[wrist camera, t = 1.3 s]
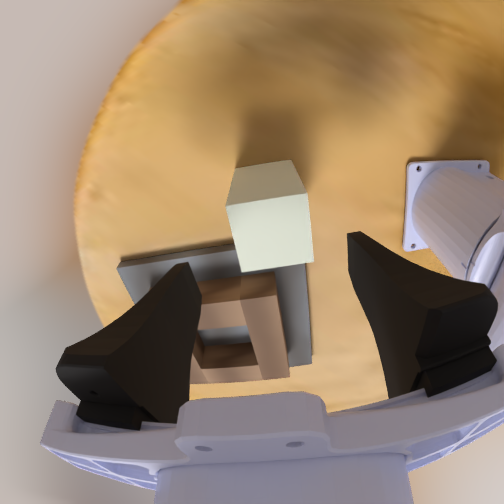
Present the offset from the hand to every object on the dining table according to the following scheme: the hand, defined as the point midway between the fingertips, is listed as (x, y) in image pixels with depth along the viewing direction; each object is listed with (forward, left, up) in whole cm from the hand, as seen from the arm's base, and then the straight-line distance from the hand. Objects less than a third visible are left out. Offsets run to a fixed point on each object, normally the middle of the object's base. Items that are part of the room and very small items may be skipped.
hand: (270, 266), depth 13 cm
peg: (0, 0, -10) cm, 10 cm away
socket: (+6, +12, -9) cm, 16 cm away
